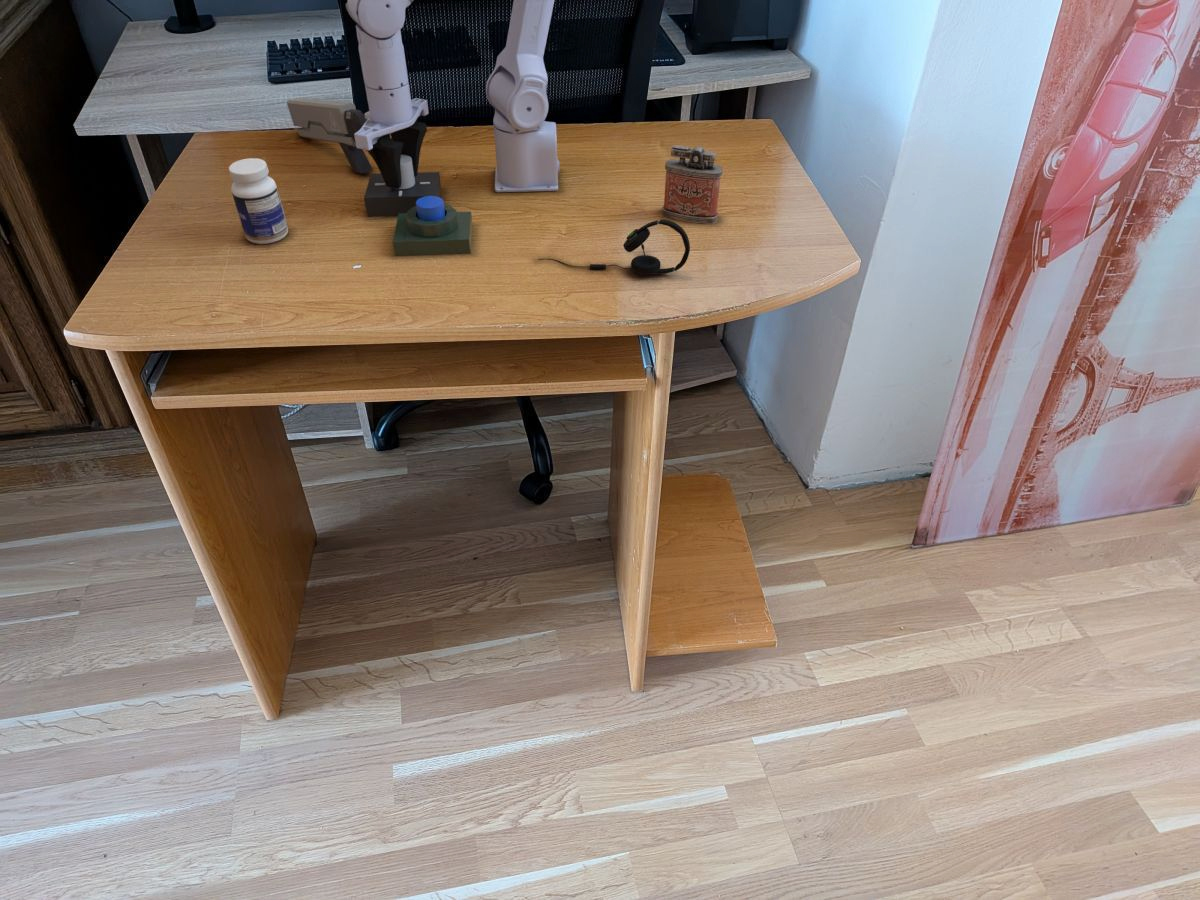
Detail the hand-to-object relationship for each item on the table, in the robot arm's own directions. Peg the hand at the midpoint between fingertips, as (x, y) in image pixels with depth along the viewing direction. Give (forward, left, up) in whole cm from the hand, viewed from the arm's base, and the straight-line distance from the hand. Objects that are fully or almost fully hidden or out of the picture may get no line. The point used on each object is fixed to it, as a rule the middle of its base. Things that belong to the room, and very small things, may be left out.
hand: (402, 180), depth 120 cm
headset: (-29, +19, -4) cm, 35 cm away
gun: (+13, -18, -4) cm, 23 cm away
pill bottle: (+18, +9, -4) cm, 20 cm away
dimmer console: (0, 0, -3) cm, 3 cm away
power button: (-5, +12, 0) cm, 13 cm away
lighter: (-41, +7, -4) cm, 42 cm away
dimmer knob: (0, 0, 0) cm, 0 cm away
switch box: (-5, +12, -3) cm, 13 cm away
